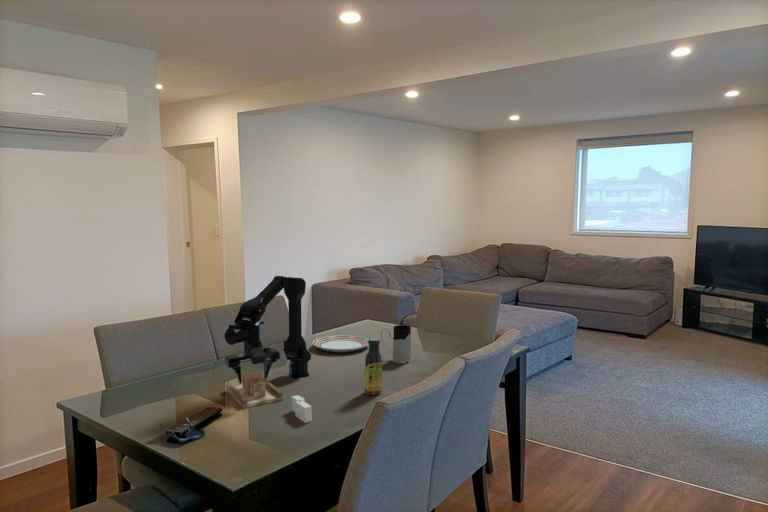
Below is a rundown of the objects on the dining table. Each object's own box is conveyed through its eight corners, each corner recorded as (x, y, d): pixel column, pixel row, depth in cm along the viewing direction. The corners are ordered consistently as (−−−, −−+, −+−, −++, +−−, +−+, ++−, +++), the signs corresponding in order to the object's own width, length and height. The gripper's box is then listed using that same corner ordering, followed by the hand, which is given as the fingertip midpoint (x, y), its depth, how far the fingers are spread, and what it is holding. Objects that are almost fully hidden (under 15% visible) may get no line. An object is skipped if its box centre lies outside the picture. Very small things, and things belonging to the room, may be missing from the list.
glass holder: (409, 364, 226) (409, 330, 224) (377, 361, 230) (377, 327, 229) (414, 358, 234) (414, 325, 232) (384, 355, 238) (384, 323, 237)
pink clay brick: (260, 389, 192) (260, 371, 191) (262, 391, 190) (262, 372, 190) (244, 393, 189) (244, 373, 188) (246, 394, 187) (246, 375, 186)
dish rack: (262, 383, 202) (262, 368, 201) (282, 399, 185) (282, 382, 185) (226, 391, 194) (225, 374, 194) (243, 408, 178) (243, 390, 177)
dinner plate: (338, 337, 272) (338, 331, 272) (381, 345, 256) (381, 339, 256) (300, 349, 250) (300, 343, 250) (344, 359, 234) (344, 352, 234)
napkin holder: (316, 426, 164) (316, 408, 164) (280, 425, 165) (279, 408, 164) (323, 407, 179) (323, 391, 179) (290, 407, 180) (290, 391, 179)
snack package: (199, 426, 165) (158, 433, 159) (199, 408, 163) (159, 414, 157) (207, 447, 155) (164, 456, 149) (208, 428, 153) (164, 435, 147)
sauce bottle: (369, 397, 187) (368, 342, 185) (361, 391, 193) (361, 338, 191) (385, 394, 190) (385, 340, 188) (377, 388, 196) (377, 336, 194)
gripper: (232, 347, 176) (234, 392, 177) (285, 339, 186) (286, 382, 188) (223, 340, 185) (224, 383, 187) (273, 333, 195) (274, 374, 197)
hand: (253, 381), depth 189 cm, fingers open, 9 cm apart
